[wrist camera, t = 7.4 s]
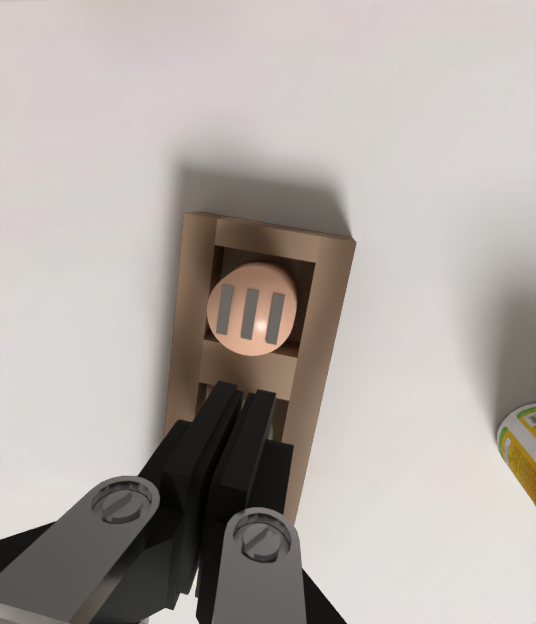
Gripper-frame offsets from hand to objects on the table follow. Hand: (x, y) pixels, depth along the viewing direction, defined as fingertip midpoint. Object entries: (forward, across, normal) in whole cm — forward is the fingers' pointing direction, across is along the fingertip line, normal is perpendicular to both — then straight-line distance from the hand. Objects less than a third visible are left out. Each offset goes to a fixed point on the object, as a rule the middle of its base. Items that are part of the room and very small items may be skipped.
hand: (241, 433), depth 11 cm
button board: (+16, +2, +9) cm, 19 cm away
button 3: (+15, +2, 0) cm, 15 cm away
